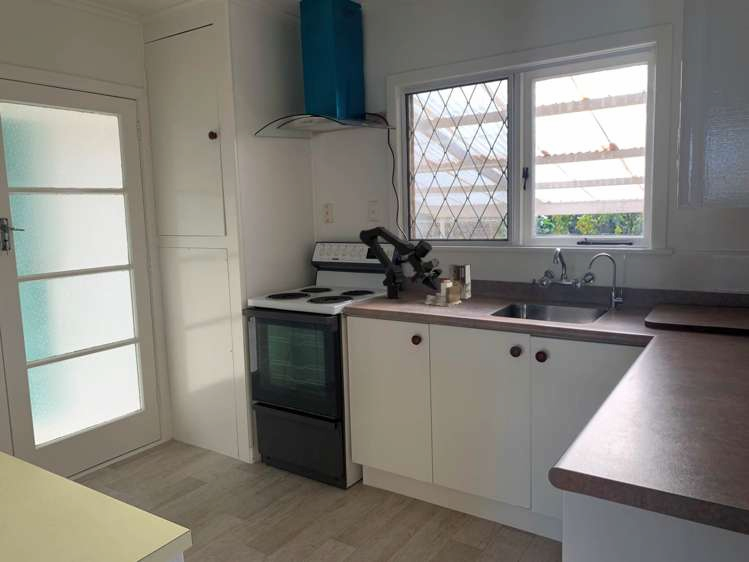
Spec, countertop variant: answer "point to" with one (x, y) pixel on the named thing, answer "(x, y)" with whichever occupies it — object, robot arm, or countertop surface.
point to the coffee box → (461, 278)
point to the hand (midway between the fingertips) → (437, 289)
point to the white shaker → (443, 287)
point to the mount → (450, 298)
